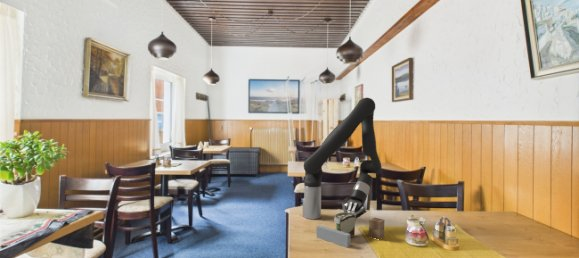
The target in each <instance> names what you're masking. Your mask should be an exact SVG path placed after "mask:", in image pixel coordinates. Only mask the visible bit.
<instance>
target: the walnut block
mask: <svg viewBox="0 0 579 258" xmlns="http://www.w3.org/2000/svg"><path fill="white" fill-rule="evenodd" d="M368 221H369V222H368V238H369V237H372V238H371V239H373V238H376V239H379V240H378V241H381V240H382V239H384V238H385V219H383V218H379V217H372V218H371V219H369V220H368ZM383 237H384V238H383ZM381 238H382V239H381ZM376 239H375V240H376ZM380 239H381V240H380Z"/></svg>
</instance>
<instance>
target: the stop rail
mask: <svg viewBox="0 0 579 258" xmlns="http://www.w3.org/2000/svg"><path fill="white" fill-rule="evenodd" d="M316 238H318V239H321V240H324V241H327V242H329V243H333V244H335V245H339V246H342V247H345V248H349V247H350V246H351V237H350V234H349V233H345V232H342V231H338V230H337V229H336V228H331V227H329V226H328V227H327V226H324V225H321V224H319V225H316Z"/></svg>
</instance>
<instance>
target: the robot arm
mask: <svg viewBox="0 0 579 258" xmlns="http://www.w3.org/2000/svg"><path fill="white" fill-rule="evenodd" d="M375 110H376V103H375V101H374V99H372V98H370V97H362V98H361V99H359V101H358V102H357V103H356V105H355V107H353V109H352V111H351V112H350V113H349V114H348V115H347V116H346V117H345V118H344V119H342V121H341V122H340V123H338V125H336V126H335V128H333V129H332V131H330V133H329V134H328V135H327V137H326V138H325V139H324V140H323V142H322V143H321V144H320V146H319V147H318V148H317V149H316V150H315V152H313V153H312V154H311V155H310V156H308V157H307V158H306V159H305V161H304V162H303V170H304V171H305V172H304V174H305V175H304V183H303V185H304V187H303V190H304V193H303V194H304V195H303V196H304V197H303V198H302V216H303V217H304V218H306V219H309V220H317V219H321V217H322V178H323V177H322V173H323V169H322V168H323V166H324V164H325V163H326V162H327V161H328V160H329V158H330V157H332V156H333V155H334V154H335V153H336V152H337V151H338V150H340V148H342V147H343V146H344V145H345V144H346V142H348V140H349V139H350V138H351V137H352V135H353V134H354V133H355V131H356V130H357V128H358V126H360V125H361V145H362V147H361V148H362V154H363V156H367V157H369V159H365V160H363V161H361V163H360V167H359V174H358V178H357V181H356V183H355V184H354V186H353V189H352V191H351V192H350V193H351V194H350V196H349V199H348V200H347V201H346V203H344V202H343V203H341V206H342V210H343V211H342V212H351V213H355V215H356V217H355V219H359V218H360V217H361V216H362V215H364V214H366V213H367V210H366V208H365V207H364V205H365V202H366V200H367V198H368V196H369V193H370V189H371V186H372V184H373V180H374V178H373V176H372V175H371V174H374V175H376V174H377V175H378V174H380V173H381V171H382V163H381V160H380V157H379V155H378V151H377V150H378V149H377V141H376V133H375V125H374V114H375Z"/></svg>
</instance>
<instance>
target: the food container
mask: <svg viewBox="0 0 579 258" xmlns="http://www.w3.org/2000/svg"><path fill="white" fill-rule="evenodd" d="M355 217H356V215H355V213H351V212H348V211H347V212H344V211H342V212H338V213H336V214H335V216H334V217H333V218H334V219H333V220H334V221H333V222H335V226H336V228H335V230H338V231H342V232H345V233H349V234H350V238H352V237H354V236H355V231H356V230H355V229H356V218H355Z"/></svg>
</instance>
